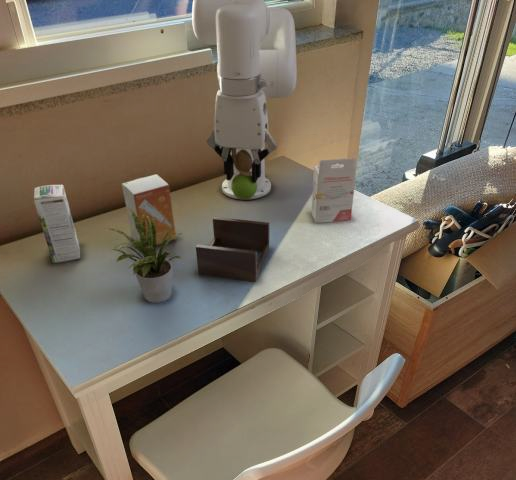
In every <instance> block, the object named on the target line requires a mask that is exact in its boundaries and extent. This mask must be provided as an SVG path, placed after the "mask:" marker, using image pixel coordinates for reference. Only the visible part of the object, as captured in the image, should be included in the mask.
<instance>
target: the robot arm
mask: <svg viewBox="0 0 516 480" xmlns="http://www.w3.org/2000/svg"><path fill="white" fill-rule="evenodd" d="M191 7H192V8H191V25H192V29H193V33H194V35H195V38H196V39H197V40H198V41H199V42H200V43H201V44H203V45H208V46H216V50H217V51H216V52H217V66H216V73H217V80H218V81H217V82H218V86H219V89H218V90H217V92H216V96H215V104H214V129H213V131H212V132H211V133H210V135H209V136H208V137H207V139H206V141H205V143H206V145H208V146H209V147H210V148H211V149H213V150H214V152H215V153H216V154H217V155H218V156H219V157H220V160H221V161H222V162H223V172H224V175H226V179H224V181H223V182H222V183H221V192H222V193H223V194H224V195H225V196H227V197H229V198H232V199H235V200H240V199H239V198H237V197H236V196H235V195H234V194H233V192H232V188H231V184H232V180H233V179H234V177H235V176H236V175H238V174H240V173H239V172H238V170H237V169H236V168H235V166H234V163H233V159H232V153H231V148H236V151H237V153H238V152H239V151H240V150H246V151H247V152H248V153H249V154H250V156H251V158H252V168H251V169H250V170H249V171H251V172H252V174H251V175H252V182H253V183H256V182H257V190H256V193H255V194H254V196H253V197H251V198H249V199H246V200H245V201H247V200H255V199H259V198H263V197H265V196H266V195H267V194H269V193H270V192H271V190H272V183H271V181H270V180H269V178H267V177H266V158H267V156H268V155H270V154H271V153H273V152H275V151H276V150H277V148H278V144H279V143H278V142H277V141H276V139H275V138H274V137H273V136H272V134H271V132H270V130H269V117H268V116H269V115H268V106H267V105H268V104H267V99H283V98H288V97H290V96H291V95H293V93H294V92H295V89H296V87H297V80H298V79H297V78H298V77H297V76H298V70H297V66H298V65H297V43H296V42H297V41H296V39H297V38H296V27H295V20H294V17H293V15H292V13H291V11H289V10H288V9H287V8H283V7H268V6H267V3H266V2H265V0H192V6H191ZM266 144H267V146H266Z"/></svg>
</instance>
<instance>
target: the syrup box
mask: <svg viewBox="0 0 516 480" xmlns="http://www.w3.org/2000/svg"><path fill="white" fill-rule="evenodd" d="M33 189H34V191H33V192H34V193H33V203H34V207H35V209H36V212H37V217H38V219H39V223H40V225H41V229H42V232H43V235H44V236H43V237H44V238H45V241H46V245H47V247H48V251H49V255H50V257H51V262H52V263H53V264H57V263H65V262H69V261H75V260H79V259H81V250H80V242H79V238H78V234H77V230H76V227H75V223H74V220H73V215H72V213H71V209H70V204H69V201H68V198H67V194H66V189H65V186H64V184H49V185H42V186H37V187H34V188H33Z"/></svg>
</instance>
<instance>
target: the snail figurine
mask: <svg viewBox="0 0 516 480" xmlns="http://www.w3.org/2000/svg"><path fill="white" fill-rule="evenodd" d="M231 153H232V159H233V163H234V166H235V168H236V169H237V170H238V172H239V173H240V174H238V175H236V176H235V177H234V179H233V180H232V184H231V188H232V192H233V194H234V195H235V196H236V197H237V198H239V199H238V200H242V201H243V200H245V201H247V200H246V199H248V200H250V199H249V198H251V197H253V196H254V194H255V193H256V190H257V182H256V183H253V182H252V175H251V174H252V172H251V171H249V170H250V169H251V168H252V158H251V156H250V154H249V153H248V152H247V151H246V150H240V151H239V152H238V153H237V151H236V148H231Z"/></svg>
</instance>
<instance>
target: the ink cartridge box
mask: <svg viewBox="0 0 516 480" xmlns="http://www.w3.org/2000/svg"><path fill="white" fill-rule="evenodd" d="M356 166H357V159H356V158H355V157H351V158H333V159H324V160H323V159H322V160H320V161H319V163H318V165H314V166H313V174H312V175H313V177H312V178H313V179H312V193H311V194H312V195H311V197H312V198H311V215H312V217H313V220H314V222H315V223H316V224H320V223H330V222H331V223H332V222H345V221H351V220H352V214H353V213H352V212H353V204H354V195H355V194H354V193H355V186H356V176H357V172H356V168H357V167H356Z"/></svg>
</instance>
